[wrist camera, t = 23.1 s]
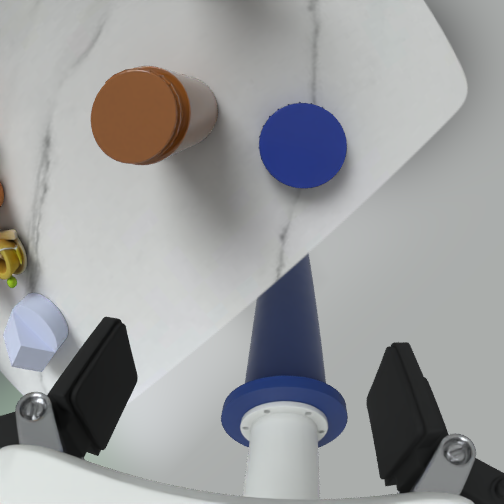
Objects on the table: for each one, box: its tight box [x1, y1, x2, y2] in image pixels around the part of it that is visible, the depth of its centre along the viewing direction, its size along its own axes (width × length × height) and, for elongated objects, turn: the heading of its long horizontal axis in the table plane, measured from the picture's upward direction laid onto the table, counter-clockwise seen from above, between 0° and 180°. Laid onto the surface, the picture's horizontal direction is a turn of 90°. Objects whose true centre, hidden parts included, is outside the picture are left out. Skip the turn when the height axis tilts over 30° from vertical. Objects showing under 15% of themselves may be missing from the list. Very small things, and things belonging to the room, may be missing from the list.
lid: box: [259, 102, 347, 188], centre depth 26 cm, size 8×8×2 cm
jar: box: [91, 66, 218, 165], centre depth 22 cm, size 7×7×11 cm
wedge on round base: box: [3, 293, 68, 372], centre depth 37 cm, size 9×7×13 cm
